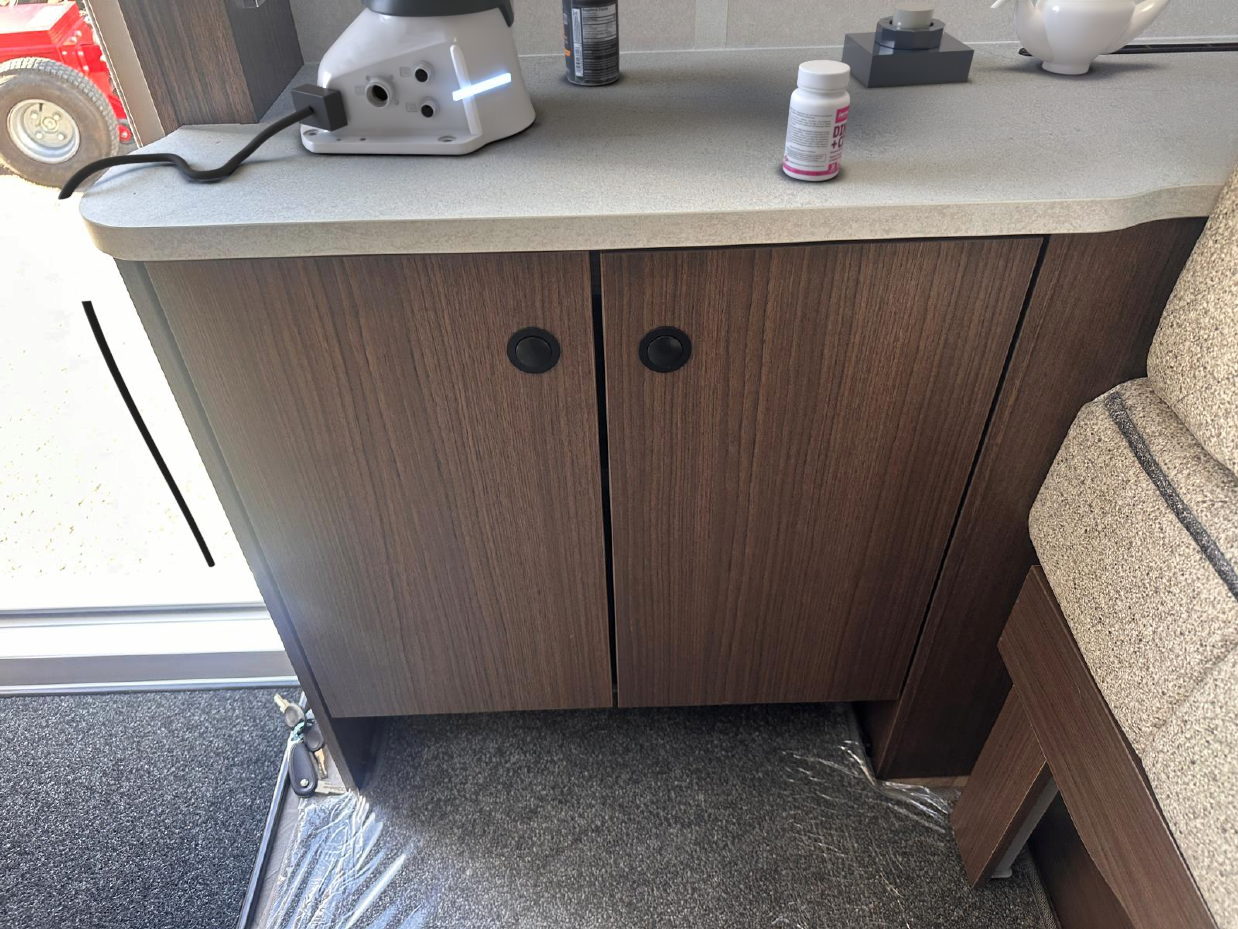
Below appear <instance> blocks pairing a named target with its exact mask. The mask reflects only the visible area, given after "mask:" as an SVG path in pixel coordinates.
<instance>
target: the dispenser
mask: <svg viewBox="0 0 1238 929" xmlns="http://www.w3.org/2000/svg"><path fill="white" fill-rule="evenodd" d="M892 19H893V15H891V16H886V17H882V18H880V19H879V20H878V21H877V22H876V27H875V31H869V32H849V33H844V40H843V41H844V42H843V48H842V54H841V61H840V62H842V63H845V64H847V65H849V67H850V74H852V75H853V76H854V77H855V78H856V79H857V80H858V81H860V82H861V83H862V84H863V85H864V86H865V87H866V88H885V87H901V86H902V87H904V86H905V87H906V86H921V85H938V84H955V83H956V84H957V83H958V84H959V83H967V82H968V80H969V76H970V71H971V66H972V63H973V58H974V54H975V49H974V48H972V47H971V46H969V45H967V44H966V43H964V42H962V41H961V40H959V39H958V38H956V37H954V36H953V35H951V34H950V33H947V32H946V26H947V24H946V23H945V21H942V20H940V19H937V18H934V17H932V21H931V26H930V27H928V28H918V29H911V28H901V27H896V26H892Z"/></svg>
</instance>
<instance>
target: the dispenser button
mask: <svg viewBox="0 0 1238 929" xmlns="http://www.w3.org/2000/svg"><path fill="white" fill-rule="evenodd" d="M934 10H935V6H934V5H933V4H931V3H926V2H920V1H903V2H898V3H896V4H895V5H894V8H893V13H892V16H893V19H892V26H896V27H901V28H911V29H918V28H928V27H930V26H931V21H932V18H933V16H934Z"/></svg>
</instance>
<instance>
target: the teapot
mask: <svg viewBox="0 0 1238 929" xmlns="http://www.w3.org/2000/svg"><path fill="white" fill-rule="evenodd" d="M1009 1H1010V0H996V1H995V2H994V3H993V4H992V5H990V8H991V9H1001V8H1003V7H1004V6H1005V5H1006V4H1007V3H1008V2H1009ZM1172 1H1173V0H1143V1H1141V2H1139V3H1136V0H1036V2H1035V5H1034V3H1033V0H1015V4H1014V10H1013V24H1014V29H1015V32H1016V35H1017V38H1018V40H1019V43H1020V44H1021V46H1022V47H1023V49H1024V50H1025V51H1026V52H1027V53H1028V54H1030V55H1031V56H1032V57H1033V58H1035V59H1037V60H1039V61H1041V62H1042V65H1041V68H1042V69H1043V70H1044V71H1047V72H1050V73H1055V74H1059V75H1069V76H1070V75H1072V76H1073V75H1083V74H1086V73H1088V72H1089V70H1090V69H1089V68H1090V65H1091V62H1093V61H1094V60H1095V59H1096V58H1098V57H1099V56H1101V55H1109V54H1112V53H1116V52H1117V51H1119V50H1121V49H1122V48H1124V47H1125V46H1127V45H1128V44H1130V43H1131V42H1132V41H1133V40H1135V39H1136V38H1137V37H1139V36H1140V35H1141V34H1142V33H1143V32H1144V31H1145V30H1146V29H1148V28H1149V26H1150V25H1151V24H1153V23H1154V22H1155V20H1156V19H1157V18H1158V17H1159V16H1160V15H1161V14H1162V13H1163V11H1165V9H1166V8H1167V7H1168V6H1169V4H1171V2H1172Z"/></svg>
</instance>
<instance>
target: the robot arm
mask: <svg viewBox="0 0 1238 929" xmlns="http://www.w3.org/2000/svg"><path fill="white" fill-rule="evenodd" d="M361 4H362V6H365V8H364V9H363V10H362V11H361V12H360V14H359V15H358V16H357V17H356V18H355V19H354V20H353V21H352V23H351V24H349V26H348V27H347V28H346V29H345V30H344V31H343V32H342V33H341V35H340V36H339V37H338V38H337V39H336V40H335V42H334V43H333V44H332V45H330V47H329V49H328V50H327V51H326V52H325V54H324V55H323V57H322V59H321V61H320V63H319V66H318V70H317V83H316V85H315V84H310V83H304V84H302V85H298V86H296V87H293V88H289V89H290V95H291V98H292V103H293V106H294V110H295V112H293V113H291V114H289V115H287V116H285V117H283V118H281V119H280V120H277V121H276V122H274V123H272V124H270V125H269V126H268V127H266V128H265V129H263V130H262V131H260V132H259V133H258V134H257V135H256V136H255V137H253V138H252V139H251V140H250V141H249V142H248V144H247V145H245V146H244V147H243V148H242V149H241V150H240V151H238V152H237V153H236V154H234V155H233V156H232V157H231V158H230V159H229V160H228V161H227V162H226V163H224V164H223V165H222V166H220V167H217V168H214V169H208V170H196V169H192V167H190V165H189V164H188V161H186V160H185V158H183V157H182V156H181V155H178V154H176V153H171V152H157V153H140V154H139V153H138V154H123V155H115V156H110V157H105V158H100V159H98V160H95V161H93V162H91V163H88V164H86V165H84V166H83V167H82V168H80V169H79V170H77V171H76V172H75V173H74V174H73V175H72V176H71V177H70V178H68V180H67V181H66V182H65V184H64V185H63V187H62V188H61V190H60V192H59V194H58V197H57V200H60V201H63V200H66V199H69V198H71V197H72V195H73V194H74V192H75V191H76V190H77V188H78V187H79V186H80V185H81V184H82V183H83V182H84V181H85V180H86V179H88V178H89V177H90V176H92V175H94V174H96V173H98V172H100V171H102V170H104V169H108V168H113V167H117V166H124V165H134V164H150V163H172V164H175V165H176V166H178V168H179V169H180V171H181V172H182V173H183V174H184V175H185V176H186V177H188V178H189V179H190V180H191V179H192V180H196V181H207V180H208V181H209V180H215V179H219V178H223V177H226V176H228V175H229V174H231V173H232V172H234V170H235V169H236V168H237V167H238V166H239V165H240V164H242V163H243V162H244V161H246V160H247V159H248V158H249V157H251V156H252V155H253V154H254V153H255V152H256V151H257V150H258V149H259V148H260V147H261V146H263V144H265V142H267V141H268V140H270V138H272V137H274V136H275V135H277V134H278V133H280V132H282V131H283V130H286V129H287V128H288V127H290V126H291V127H292V125H294V124H297V123H298V124H300V138H301V142H302V145H303V146H304V148H305V149H307V150H308V151H309V152H311V153H316V154H373V155H375V154H378V155H379V154H380V155H381V154H384V155H386V154H387V155H389V154H390V155H466V154H469V153H472V152H474V151H476V150H478V149H480V148H481V147H483V146H485V145H486V144H489V143H491V142H494V141H498V140H501V139H504V138H507V137H510V136H512V135H514V134H518V133H519V132H522V131H523V130H525V129H526V128H528V127H530V126H531V125H532V123H533V122H534V121H535V119H536V112H535V109H534V106H533V104H532V101H531V98H530V95H529V92H528V89H527V85H526V82H525V79H524V75H523V71H522V66H521V63H520V57H519V54H518V48H517V43H516V37H515V33H514V27H513V24H514V22H515V15H516V8H515V7H516V6H515V5H516V4H515V0H361ZM81 306H82V308H83V311H84V314H85V316H86V318H87V321H88V323H89V325H90V329H91V332H92V334H93V336H94V338H95V341H96V343H97V347H98V348H99V350H100V353H101V355H102V357H103V360H104V362H105V364H106V366H107V368H108V371H109V373H110V375H111V377H112V379H113V380H114V383H115V385H116V388H117V390H118V391H119V394H120V396H121V397H122V399H123V402H124V403H125V406H126V408H127V410H128V411H129V414H130V415H131V417H132V419H133V421H134V424H135V425H136V427H137V430H138V431H139V433H140V434H141V436H142V439H143V441H144V442H145V444H146V446H147V449H148V451H149V452H150V454H151V456H152V458H153V460H154V462H155V463H156V465H157V467H158V469H159V471H160V472H161V474H162V475H161V476H163V479H164V481H165V482H166V484H167V486H168V488H169V490H170V491H171V494H172V495H173V497H174V499H175V501H176V503H177V505H178V508H179V509H180V511H181V513H182V515H183V517H184V519H185V521H186V523H187V525H188V526H189V529H190V531H191V533H192V535H193V537H194V539H195V541H196V543H197V545H198V547H199V549H200V551H201V554H202V555H203V556H202V557H203V558H204V560H205V562H206V564H207V567H208V568H213V567H214V566H216V562H215V560H214V558H213V556H212V554H211V552H210V550H209V547H208V545H207V542H206V541H205V539H204V537H203V535H202V532H201V530H200V528H199V526H198V524H197V522H196V520H195V518H194V515H193V514H192V512H191V510H190V508H189V506H188V504H187V503H186V500H185V498H184V497H183V494H182V492H181V491H180V489H179V487H178V485H177V483H176V481H175V479H174V477H173V474H172V472H171V471H170V469H169V468H168V466H167V463H166V461H165V459H164V458H163V456H162V454H161V452H160V450H159V448H158V446H157V444H156V442H155V440H154V438H153V437H152V434H151V433H150V431H149V429H148V427H147V425H146V423H145V420H144V419H143V416H142V414H141V413H140V411H139V409H138V406H137V405H136V403H135V401H134V398H133V397H132V395H131V393H130V391H129V388H128V385H127V383H126V382H125V380H124V378H123V376H122V374H121V371H120V369H119V367H118V365H117V363H116V360H115V358H114V355H113V353H112V351H111V349H110V347H109V344H108V341H107V340H106V337H105V335H104V332H103V329H102V326H101V324H100V321H99V319H98V316H97V314H96V311H95V308H94V305H93V302H92V300H81Z"/></svg>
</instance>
